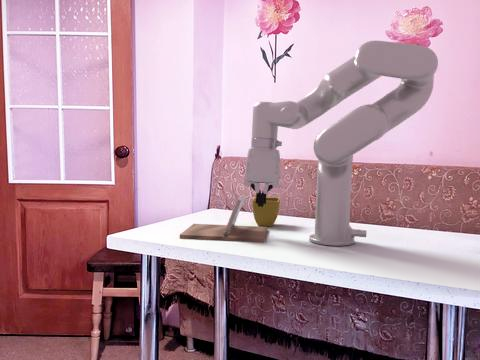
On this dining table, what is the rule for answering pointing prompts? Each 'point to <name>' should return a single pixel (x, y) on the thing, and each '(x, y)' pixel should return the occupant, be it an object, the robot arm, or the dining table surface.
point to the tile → (235, 213)
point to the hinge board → (225, 233)
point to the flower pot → (266, 211)
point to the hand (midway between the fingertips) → (260, 206)
